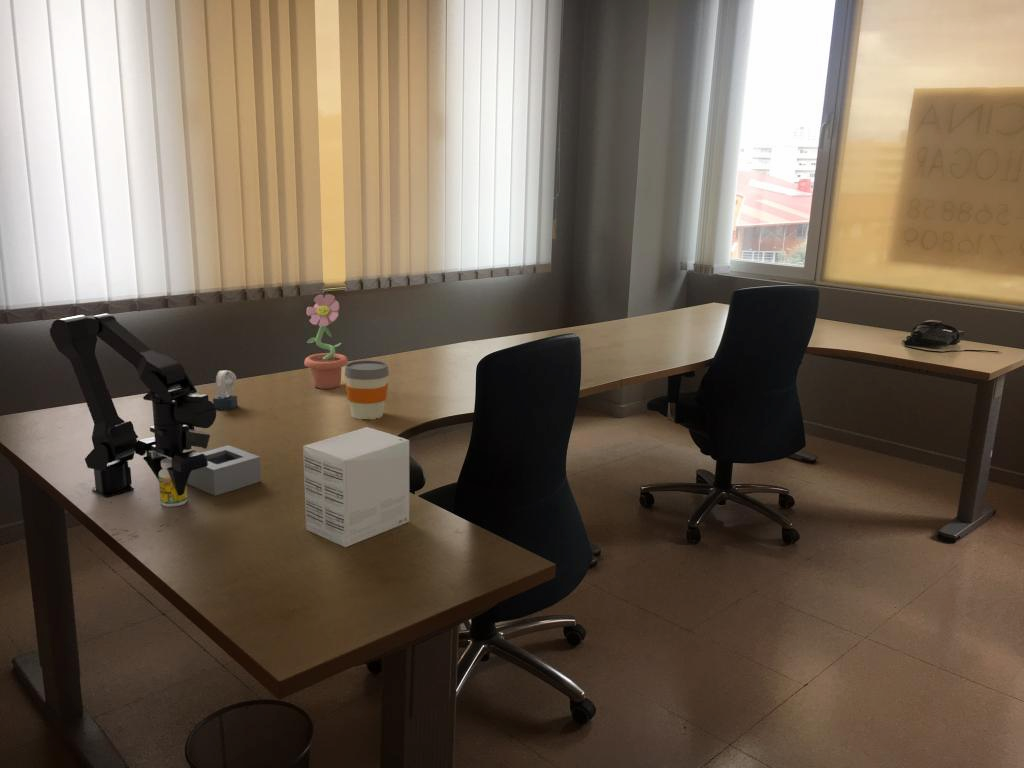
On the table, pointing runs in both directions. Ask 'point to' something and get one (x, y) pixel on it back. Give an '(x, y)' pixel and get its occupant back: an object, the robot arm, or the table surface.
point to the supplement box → (356, 485)
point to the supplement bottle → (169, 487)
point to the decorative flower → (325, 345)
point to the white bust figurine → (224, 396)
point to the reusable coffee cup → (366, 388)
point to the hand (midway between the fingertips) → (173, 491)
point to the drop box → (226, 471)
